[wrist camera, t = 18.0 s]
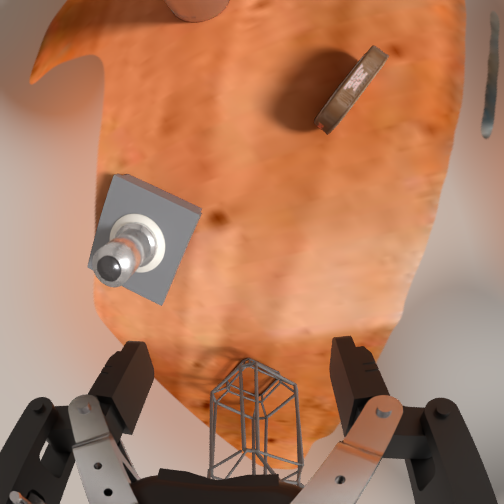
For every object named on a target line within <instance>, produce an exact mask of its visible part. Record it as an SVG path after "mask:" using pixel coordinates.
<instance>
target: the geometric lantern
mask: <svg viewBox="0 0 504 504" xmlns="http://www.w3.org/2000/svg"><path fill="white" fill-rule="evenodd" d="M247 360H249V363H246V364H245V361H247ZM251 361H253V362H251ZM242 363H243V364H242ZM241 364H242V365H241ZM253 365H254V367H253ZM247 367H250V368H252V369H254V372H255V395H254V394H252V393H250V392H247V391H245V390H243V378H242V371H243V370H244V369H245V368H247ZM258 367H260V368H262V369H263V370H265V371H267V372H269V373H271V374H273V375H275V376H273V375H271V374H269V373H266V372H264V371H262V370H259V369H258ZM238 370H239V373H238V374H237V375H236V376H235V378H234V379H233V380H232V381H231V382H230V383H229V382H228V379H229V378H231V377H232V376H233V375H234V374H235V373H236V372H237V371H238ZM258 371H259V372H261V373H264V374H266V375H268V376H271V377H273V378H275V379H276V380H275V381H274V382H273V383H272V384H271V385H270V386H269V387H268V388H267V389H266V390H265V391H264V392H263V393H262V394H260V395H258ZM273 371H274V372H273ZM275 372H276V373H275ZM277 373H278V374H277ZM238 376H239V384H240V388H238V387H236V386H234V385H232V383H233V382H234V381H235V379H236V378H237V377H238ZM278 380H279V383H278V384H277V385H276V386H275V387H274V388H273V389H272V390H271V391H270V393H269V394H268V395H267V396H266V397H265V398H264V399H263V395H264V394H265V393H266V392H267V391H268V390H269V389H270V388H271V387H272V386H273V385H274V384H275V383H276V382H277V381H278ZM282 381H283V382H285V383H288V384H290V385H293V386H294V390H293V389H291V388H290V387H289V386H287V385H286V384H284V383H283V382H282ZM225 382H227V383H226V387H224V388H221V389H219V388H220V387H221V386H222V385H223V384H224V383H225ZM280 384H283V385H284V386H285V387H287V388H288V389H289V390H291V391H292V392H294V394H293V395H292V396H291V397H290V398H288V399H287V400H286V401H285V402H283V403H282V404H281V405H280V406H278V407H277V408H276V409H275V410H273V411H272V412H271V413H270V414H268V415H266V412H265V408H264V405H263V401H264V400H265V399H266V398H267V397H268V396H269V395H270V394H271V393H272V392H273V391H274V390H275V389H276V388H277V387H278V386H279V385H280ZM230 386H232V387H234V388H236V389H239V390H240V394H237V393H234V392H232V391H230ZM217 389H218V390H217ZM224 389H227V391H226V392H225V393H224V394H223V395H222V396H221V397H220V398H219V399H218V400H217V401H216V399H215V396H214V394H213V393H216V392H218V391H221V390H224ZM228 392H229V393H232V394H235V395H237V396H240V410H241V412H240V411H237V410H235V409H233V408H231V407H228V406H226V405H224V404H222V403H220V402H218V401H219V400H220V399H221V398H222V397H223V396H224V395H226V394H227V393H228ZM243 392H245V393H248V394H250V395H252V396H255V400H253V399H250V398H248V397H245V396H243ZM259 396H261V400H262V401H258V397H259ZM294 397H295V407H296V423H297V456H298V463H297V462H294V461H290V460H287V459H284V458H280V457H277V456H274V455H271V454H268V453H267V429H268V417H270V416H271V415H272V414H274V413H275V412H276V411H278V410H279V409H280V408H281V407H283V406H284V405H285V404H286V403H288V402H289V401H290V400H291V399H293V398H294ZM244 398H245V399H248V400H251V401H253V402H255V410H254V414H253V417H251V416H249V415H246V414H244ZM213 401H214V403H215V404H214V416H213ZM259 403H261V405H262V408H263V412H264V415H265V417H259ZM217 404H218V405H220V406H222V407H224V408H226V409H229V410H231V411H233V412H235V413H238V414H240V415H241V433H242V450H243V451H244V453H243V454H242V456H241V457H240V459H239V460H238V461H237V463H236V464H235V466H234V467H233V468H232V470H231V471H230V472H229V474H228V475H227V476H226V478H225V479H228V477H229V476H230V475H231V473H232V472H233V471H234V469H235V468H236V467H237V465H238V464H239V462H240V461H241V460H242V458H243V457H244V455H245V454H246V453H247V452H252V475H256V471H255V454H256V455H257V456H258V458H259V459H260V460H261V462H262V463H263V464H264V475H267V469H268V470H269V472H270V473H271V474H276V473H275V472H274V471H273V470H272V468H271V467H270V466H269V465H268V463H267V456H269V457H272V458H275V459H279V460H282V461H285V462H289V463H292V464H295V465H298V471H296V472H294V473H292V474H291V475H289V476H287V477H285V478H283V479H280V478H279V481H281V482H286V483H290V484H295V485H297V486H299V487H301V488H304V487H305V486H304V485H303V484H302V483H300V475H301V472H302V468H303V466H304V458H303V447H302V436H301V425H300V415H299V401H298V388H297V384H296V383H294V382H292V381H290V380H288V379H286V378H285V377H283V376H281V375H280V373H279V371H276V370H274V369H272V368H270V367H267V366H265V365H263V364H261V363H259V362H257V361H255V360H253V359H251V358H247V359H244V360H242V361H241V363H240V364H239V365H238V366H237V367H236V369H235V370H234V371H233V372H232V373H231V374H229V375H228V376H227V377H226V378H225V379H224V380H223V381H222V382H221V383H220V384H219V385H218V386H217V387H215V388H214V389H213V390H212V391H211V392H210V464H209V466H210V467H209V469H208V474H207V478H211V477H212V479H213V480H215V479H218V480H222V478H219V477H215V476H214V475H213V469H214V468H216V467H217V466H219V465H221V464H222V463H224V462H226V461H228V460H229V459H231V458H233V457H234V456H236V455H237V454H239V453H241V452H242V450H239V451H238V452H236V453H234V454H233V455H231V456H230V457H228V458H226V459H225V460H223V461H221V462H220V463H218V464H216V465H213V464H214V448H215V447H214V446H215V431H216V415H217ZM244 416H245V417H247V418H249V419H252V449H247V448H246V435H245V417H244ZM261 419H265V440H264V452H262V451H260V448H259V420H261ZM255 437H256V449H255ZM260 454H263V455H264V458H263V457H262V456H261V455H260ZM295 474H297V480H296V481H291V480H286V479H287V478H289V477H291V476H293V475H295ZM214 478H215V479H214Z"/></svg>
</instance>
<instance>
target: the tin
mask: <svg viewBox="0 0 504 504" xmlns="http://www.w3.org/2000/svg"><path fill="white" fill-rule="evenodd" d="M388 57H389V55H387V54H385V53H384V52H383V51H381V50H380V49H379V48H377V47H376V46H374V45H373V46H372V47H371V48H370V49H369V50H368V52H367V53H365V54H364V55H363V57H362V58H361V59H360V60H359V62H358V63H357V64H356V65H355V67H354V68H353V69H352V70H351V72H350V73H349V74H348V75H347V77H346V78H345V79H344V80H343V82H342V83H341V84H340V85H339V87H338V88H337V89H336V91H335V92H334V93H333V95H332V96H331V97H330V99H329V100H328V101H327V103H326V104H325V105H324V107H323V108H322V110H321V111H320V112H319V114H318V115H317V117H316V118H315V120H314V124H315V125H316V126H317V127H319V128H320V129H321V130H323V131H324V132H325V133H326V134H327V135H328V134H329V133H330V132H331V131H332V130H333V129H334V128H335V127H336V126H337V125H338V124H339V123H340V121H341V120H342V119H343V118H344V117H345V115H346V114H347V113H348V112H349V110H350V109H351V108H352V106H353V105H354V104H355V102H356V101H357V100H358V98H359V97H360V96H361V94H362V93H363V92H364V90H365V89H366V88H367V86H368V85H369V84H370V82H371V81H372V80H373V78H374V77H375V76H376V74H377V73H378V72H379V70H380V69H381V68H382V66H383V65H384V64H385V62H386V61H387V59H388Z"/></svg>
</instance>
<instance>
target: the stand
mask: <svg viewBox="0 0 504 504" xmlns="http://www.w3.org/2000/svg"><path fill="white" fill-rule="evenodd" d="M201 210H202V208H200V207H198V206H196V205H193V204H191V203H189V202H187V201H185V200H183V199H181V198H179V197H176V196H174V195H172V194H170V193H168V192H166V191H164V190H161V189H159V188H157V187H155V186H153V185H151V184H149V183H146V182H144V181H142V180H140V179H138V178H136V177H133V176H131V175H129V174H126V175H123V176H122V175H120V174H115V175H114V176H113V179H112V182H111V185H110V188H109V191H108V194H107V197H106V200H105V203H104V207H103V210H102V213H101V217H100V220H99V224H98V227H97V231H96V235H95V238H94V242H93V246H92V250H91V254H90V258H89V263H88V268H90V269H92V270H93V267H92V259H93V256H94V254H95V252H96V251H97V250H99V249H100V248H101V247H103V246H104V245H106V244H107V243H108V242H110V241H111V240H112V239H114V238H115V235H116V233H117V231H118V230H119V229H120V228H121V227H122V226H124V225H125V224H127V223H130V222H140V223H143V224H145V225H146V226H148V227H149V228H150V229H151V230H152V231H153V233H154V234H155V236H156V239H157V244H158V248H157V253H156V255H155V257H154V258H153V260H152V261H151V262H150V263H149V264H147V265H146V266H143V267H139V268H138V269H137V270H136V271H135V272H134V273H133V274H132V276H131V277H130V278H129V279H128V280H127V281H126V282H125V283H124V284H123V285H122V286H123V287H125V288H127V289H129V290H131V291H133V292H135V293H137V294H139V295H141V296H143V297H145V298H147V299H149V300H151V301H153V302H155V303H157V304H159V305H161V306H162V305H163V303H164V301H165V298H166V296H167V293H168V291H169V289H170V286H171V284H172V281H173V279H174V276H175V274H176V272H177V269H178V267H179V264H180V262H181V260H182V257H183V255H184V253H185V250H186V248H187V246H188V243H189V241H190V239H191V236H192V234H193V232H194V230H195V227H196V225H197V223H198V221H199V219H200V216H201V214H202V213H201Z"/></svg>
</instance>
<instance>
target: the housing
mask: <svg viewBox="0 0 504 504" xmlns="http://www.w3.org/2000/svg"><path fill="white" fill-rule="evenodd" d="M157 248H158V244H157V239H156V236H155V234H154V233H153V231H152V230H151V229H150V228H149V227H148V226H146V225H145V224H143V223H140V222H130V223H127V224H125V225H124V226H122V227H121V228H120V229H119V230H118V231H117V233H116V235H115V238H114V239H112V240H111V241H110V242H108V243H107V244H106V245H104V246H103V247H101V248H100V249H99V250H97V251H96V252H95V254H94V256H93V259H92V267H93V271H94V273H95V275H96V277H97V278H98V279H99V280H100V281H101V282H102V283H103V284H105V285H107V286H109V287H119V286H122V285H123V284H124V283H125V282H126V281H127V280H128V279H129V278H130V277H131V276H132V274H133V273H134V272H135V271H136V270H137V269H138V268H139V267H143V266H146V265H147V264H149V263H150V262H151V261H152V260H153V258H154V257H155V255H156V253H157Z"/></svg>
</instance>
